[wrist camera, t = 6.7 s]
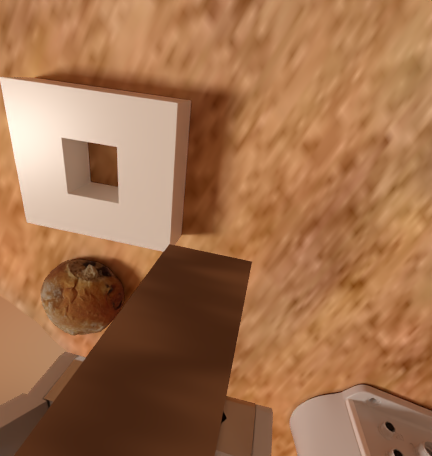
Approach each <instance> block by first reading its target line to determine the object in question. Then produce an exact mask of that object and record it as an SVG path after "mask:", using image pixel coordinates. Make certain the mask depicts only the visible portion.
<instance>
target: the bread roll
mask: <svg viewBox="0 0 432 456" xmlns="http://www.w3.org/2000/svg"><path fill="white" fill-rule="evenodd" d="M41 299H42V303H43V306H44V309H45V312H46V314H47V316H48V317H49V319H50V320H51V321H52V322H53V323H54V324H55V325H56V326H57V327H58V328H60V329H61V330H63V331H64V332H66V333H69V334H70V335H77V334H79V335H84V334H89V333H97V332H101V331H102V330H103V329H105V328H106V327H107V326H108V325H109V324H110V323H111V322H112V321H113V319H114V318H115V317H116V315H117V314H118V312H119V311H120V309H121V307H122V305H123V303H124V289H123V287H122V284H121V282H120V280H119V279H118V278H117V277H116V276H115V275H114V274H113V273H112V272H111V270H110V269H108V267H105V266H104V265H103V264H101V263H97V262H95V261H88V260H82V259H79V260H71V261H69V260H67V261H65V262H63V263H61V264H60V265H58V266H57V267H56V268H55V269H53V270H52V271H51V272H50V274H49V275H48V276H47V277H46V279H45V280H44V282H43V285H42V289H41Z"/></svg>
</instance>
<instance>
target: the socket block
mask: <svg viewBox="0 0 432 456" xmlns="http://www.w3.org/2000/svg"><path fill="white" fill-rule="evenodd" d="M0 82H1V87H2V93H3V98H4V103H5V109H6V114H7V119H8V125H9V130H10V135H11V141H12V146H13V151H14V157H15V162H16V167H17V173H18V178H19V183H20V189H21V194H22V199H23V205H24V210H25V215H26V221H27V223H32V224H37V225H41V226H46V227H51V228H55V229H60V230H65V231H69V232H74V233H79V234H83V235H88V236H93V237H98V238H102V239H107V240H112V241H116V242H121V243H126V244H130V245H135V246H140V247H144V248H149V249H154V250H158V251H163V252H164V251H165V249H166V248H167V247H168V245H169V244H171V245H175V244H176V242H177V241H178V239H179V238H180V237H181V235H182V221H183V208H184V194H185V181H186V167H187V153H188V140H189V126H190V112H191V100H185V99H178V98H172V97H165V96H158V95H151V94H144V93H137V92H130V91H123V90H116V89H109V88H102V87H95V86H88V85H81V84H74V83H67V82H60V81H53V80H47V79H40V78H26V77H0ZM88 142H91V143H97V144H102V145H108V146H114V147H117V162H118V187H116V186H110V185H105V184H100V183H94V182H91V179H90V165H89V152H88Z"/></svg>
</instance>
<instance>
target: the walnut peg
mask: <svg viewBox="0 0 432 456" xmlns="http://www.w3.org/2000/svg"><path fill="white" fill-rule="evenodd" d="M251 264H252V262H251V261H246V260H242V259H237V258H232V257H227V256H223V255H218V254H213V253H208V252H204V251H199V250H194V249H190V248H185V247H180V246H175V245H171V244H169V245H168V247H167V248H166V249H165V251H164V252H163V253H162V255H161V256H160V258H159V259H158V260H157V262H156V263H155V264H154V266H153V267H152V268H151V270H150V271H149V272H148V274H147V275H146V277H145V278H144V279H143V281H142V282H141V283H140V285H139V286H138V287H137V289H136V290H135V292H134V293H133V294H132V296H131V297H130V298H129V300H128V301H127V302H126V304H125V305H124V307H123V308H122V309H121V311H120V312H119V313H118V315H117V316H116V317H115V319H114V320H113V321H112V323H111V324H110V326H109V327H108V328H107V330H106V331H105V332H104V334H103V335H102V336H101V338H100V339H99V341H98V342H97V343H96V345H95V346H94V347H93V349H92V350H91V351H90V353H89V354H88V356H87V357H86V358H85V360H84V361H83V362H82V364H81V365H80V366H79V368H78V369H77V370H76V372H75V373H74V375H73V376H72V377H71V379H70V380H69V381H68V383H67V384H66V385H65V387H64V388H63V390H62V391H61V392H60V394H59V395H58V396H57V398H56V399H55V400H54V402H53V403H52V404H51V406H50V407H49V409H48V410H47V411H46V413H45V414H44V415H43V417H42V418H41V419H40V421H39V422H38V424H37V425H36V426H35V428H34V429H33V430H32V432H31V433H30V434H29V436H28V437H27V439H26V440H25V441H24V443H23V444H22V445H21V447H20V448H19V449H18V451H17V452H16V453H15V455H14V456H215V451H216V446H217V441H218V436H219V431H220V425H221V420H222V415H223V410H224V404H225V399H226V394H227V389H228V384H229V378H230V373H231V368H232V363H233V358H234V352H235V347H236V342H237V337H238V331H239V326H240V321H241V316H242V311H243V305H244V300H245V295H246V290H247V285H248V279H249V274H250V269H251Z"/></svg>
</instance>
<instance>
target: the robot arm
mask: <svg viewBox="0 0 432 456" xmlns="http://www.w3.org/2000/svg"><path fill="white" fill-rule="evenodd" d="M84 360H85V357H82V356H79V355H76V354H72V353H68V352H65V353H63V354H62V355H60V356H59V357H58V359H57V360H56V361H55V362H54V363H53V365H52V366H51V367H50V368H49V369H48V370H47V372H46V373H45V374H44V375H43V377H42V378H41V379H40V380H39V381H38V382H37V383H36V385H35V386H34V387H33V388H32V390H31V391H30V392H29V393H28V394H21V395H19V396H17V397H15V398H14V399H12V400H10V401H8V402H6V403H4V404H3V405H0V456H14V455H15V453H16V452H17V451H18V449H19V448H20V447H21V445H22V444H23V443H24V441H25V440H26V439H27V437H28V436H29V434H30V433H31V432H32V430H33V429H34V428H35V426H36V425H37V424H38V422H39V421H40V419H41V418H42V417H43V415H44V414H45V413H46V411H47V410H48V409H49V407H50V406H51V404H52V403H53V402H54V400H55V399H56V398H57V396H58V395H59V394H60V392H61V391H62V390H63V388H64V387H65V385H66V384H67V383H68V381H69V380H70V379H71V377H72V376H73V375H74V373H75V372H76V370H77V369H78V368H79V366H80V365H81V364H82V362H83V361H84ZM272 419H273V412H272V409H271V408H269V407H265V406H261V405H257V404H255V403H251V402H247V401H244V400H240V399H236V398H232V397H228V396H226V399H225V404H224V410H223V415H222V420H221V425H220V431H219V436H218V441H217V446H216V451H215V456H271V446H272ZM290 429H291V432H292V435H293V439H294V442H295V446H296V450H297V455H298V456H432V411H431V410H428V409H426V408H423V407H421V406H418V405H416V404H413V403H411V402H408V401H406V400H403V399H401V398H398V397H396V396H393V395H391V394H388V393H386V392H383V391H381V390H378V389H376V388H373V387H371V386H368V385H356V386H354V387H351V388H349V389H347V390H345V391H343V392H340V393H336V394H329V395H323V396H318V397H315V398H312V399H309V400H307V401H305V402H304V403H302V404H301V405H299V406H298V407H297V408H296V409H295V410H294V412H293V413H292V415H291V418H290Z"/></svg>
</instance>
